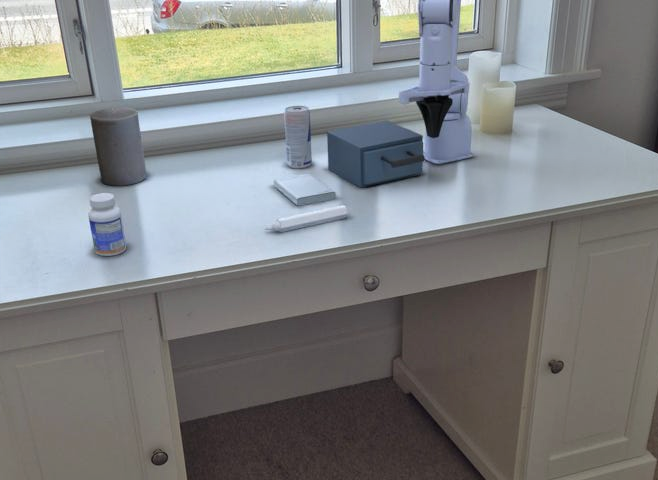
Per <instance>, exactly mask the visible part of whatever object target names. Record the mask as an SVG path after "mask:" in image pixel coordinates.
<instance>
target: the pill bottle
mask: <svg viewBox="0 0 658 480" xmlns="http://www.w3.org/2000/svg"><path fill="white" fill-rule="evenodd" d="M89 206H90V207H91V208H90V209H89V211H88V214H87V215H88V216H87V217H88V222H89V228H90V232H91V238H92V243H93V249H94V252H95V253H96V255H99V256H101V257H113V256H118V255H121V254H123V253H124V252H125V251H126V249H127V242H126V241H127V240H126V236H125V229H124V224H123V218H122V211H121V209H120V208H119V206H118V205H116V199H115V195H114V194H113V193H109V192H101V193H96V194H93V195H91V196H90V197H89Z"/></svg>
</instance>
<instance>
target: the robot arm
mask: <svg viewBox="0 0 658 480" xmlns="http://www.w3.org/2000/svg"><path fill="white" fill-rule="evenodd" d="M417 1H418V3H417V22H418V36H419V38H420V40H419V74H418V75H419V77H418V78H419V80H418V86H414V87H411V88H409V89H405V90H402V91H398V103H399V104H400V105H401V104H402V105H405V106H406V105H408V104H410V103H415V104H416V106H417V107H418V110H419V112H420V114H421V116H422V120H423V122H424V126H425V140H424V151H423V155H424V157H425V160H426V161H427V162H430V163H432V164H434V165H441V164H442V165H443V164H447V163H451V162H456V161H460V160H465V159H470V158H473V153H472V154H471V148H472V131H473V127H472V121H471V118H470V117H469V115H467V112H468V105H469V93H470V82H469V78H468V75H467V74H466V73H465V72H464V71H462V70H461V69H460V68H459V67H457V65H458V64H457V61H458V51H459V50H458V49H459V34H460V19H461V5H462V0H417Z"/></svg>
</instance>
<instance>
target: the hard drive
mask: <svg viewBox="0 0 658 480" xmlns="http://www.w3.org/2000/svg"><path fill="white" fill-rule="evenodd" d="M273 187H275V188H276V189H277V190H278V191H280V192H281V193H282V194H283V196H285V197H287V198H288V199H289V200H290V201H291V202H293V203H294V204H295V205H296V206H305V205H310V204H315V203H321V202H327V201H331V200H332V201H333V200H335V199H336V198H337V192H336V191H335V190H333V189H332V188H331V187H329V186H328V185H326V184H325V183H324V182H323V181H321V180H320V179H318V178H317V177H316V176H315V175H313V174H312V173H303V174H297V175H292V176H287V177H286V176H285V177H281V178H275V179H274V180H273Z"/></svg>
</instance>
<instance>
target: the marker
mask: <svg viewBox="0 0 658 480" xmlns="http://www.w3.org/2000/svg"><path fill="white" fill-rule="evenodd" d="M348 215H349V213H348V209H347V206H345V205H344V204H342V205H337V206H332V207H327V208H321V209H318V210H313V211H309V212H308V211H307V212H304V213H299V214H294V215H289V216H285V217H281V218H277V219H276V221H274V223H272V224H271V225H269V226H268V227H265V228H264V231H265V230H267V231H275V232H279V233H286V232H289V231H293V230H299V229H303V228H308V227H312V226H316V225H321V224H326V223H330V222H334V221H339V220H344V219H347V217H348Z"/></svg>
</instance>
